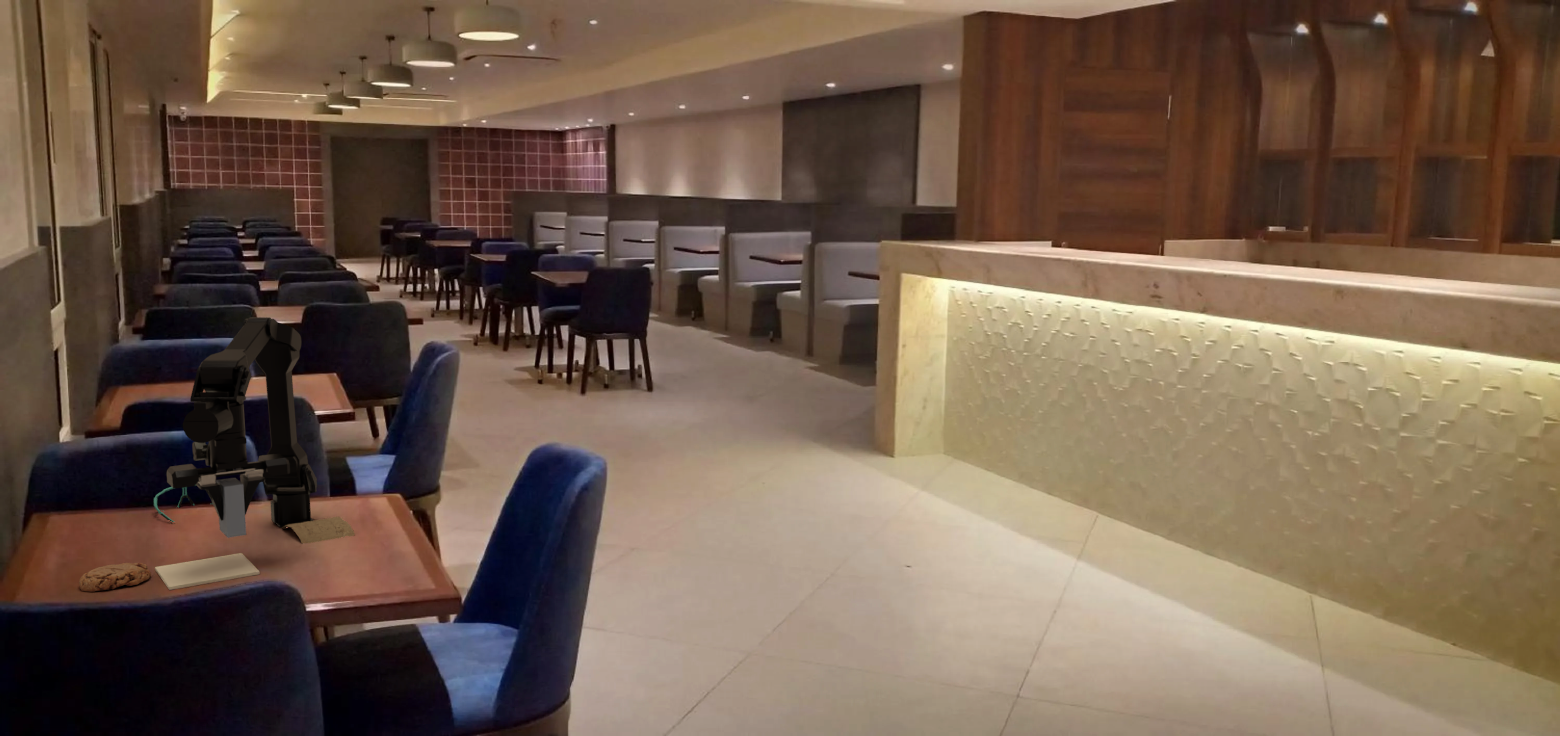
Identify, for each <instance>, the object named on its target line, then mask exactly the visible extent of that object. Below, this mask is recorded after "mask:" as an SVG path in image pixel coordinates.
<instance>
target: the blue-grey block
mask: <svg viewBox="0 0 1560 736" xmlns="http://www.w3.org/2000/svg"><path fill="white" fill-rule="evenodd" d="M216 482H217V483H218V484H219V485H220V491H221V498H222V505H223V512H224V515H223V520H222V521H221V520H220V519H219V518H218V524H219V531H220V532H221V534H223V535H224V536H225V537H226V538H228V539H230V538H234V537H240V536H246V535H247V526H246V523H247V522H246V515H245V506H244V489H243V484H242V483H241V480H238V478H236V477H230V478H222V479H216Z"/></svg>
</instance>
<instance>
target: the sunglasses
mask: <svg viewBox="0 0 1560 736" xmlns="http://www.w3.org/2000/svg"><path fill="white" fill-rule="evenodd" d="M196 486H197V485H195V486H194V487H196ZM173 489H176V488H172V486H170V487H167V488H165V489H163V490H162V491H160V492H158V493H157V494H155V497H153V506H154V509H155V510H157V511H158V513H157V514H159V515H161V517H163V518H164V519H165V520H166V521H168V520H170V521H172V522H175V520H173V519H171V517H169V516H168V515H167V514H165V513H164V511H163V512H161V511H162V510H161V509H159V507H158V498H159V496H160V495H163V494H164V493H166V492H168V491H170V490H173ZM181 489H182V495H181V496H180V500H179V502H178V505H177V507H178V508H180V507H181V505H182V503H183V500H184V499H186V498H187V499H188V501H189V503H190V504H191V505H192V506H195V503H194V501H193V499H192V498H191V497H190V496H189V495H188V492H187V491H188V490H187V489H188V487H184V488H181ZM211 505H213V503H212V502H211ZM177 507H176V508H177ZM157 511H156V512H157ZM170 521H169V522H170Z"/></svg>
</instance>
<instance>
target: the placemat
mask: <svg viewBox="0 0 1560 736" xmlns="http://www.w3.org/2000/svg"><path fill="white" fill-rule="evenodd" d="M154 570H155V572H156V574H158V576H159V578H160V579H161V580H162V582H163V583H164V585H165V586H166V588H167V589H168V590H169V591H171V590H177V589H182V588H183V589H184V588H188V587H193V586H194V587H195V586H199V585H205V584H211V583H217V582H222V581H229V580H233V579H234V580H235V579H239V578H240V579H241V578H246V577H251V576H257V575H260V574H261V573H260V570H259V569H257V568H256V566H255V565H254V564H253V563H252V562H251V561H250V560H249V559H248V558H247V557H246V556H245V555H244V554H243V553H242V552H239V553H233V554H228V555H221V556H215V557H208V558H203V559H197V560H196V559H195V560H191V561H186V562H185V561H184V562H177V563H172V564H164V565H160V566H159V565H158V566H155V567H154Z"/></svg>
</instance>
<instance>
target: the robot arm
mask: <svg viewBox="0 0 1560 736" xmlns="http://www.w3.org/2000/svg"><path fill="white" fill-rule="evenodd" d="M301 348H302V337H301V334H300V333H299V332H298V331H297V330H295V328H294V327H292V326H289V325H288V324H284V323H282V322H278V321H277V320H276V319H275V318H271V317H267V316H266V317H264V316H263V317H261V316H259V317H255V316H254V317H253V316H251V317H248V318H245V319H244V321H243V324H242V327H241V328H240V330H239V331H238V333H237V334H236V335H235V336H234V337H233V339H232V340H231V341H230V342H229V344H228V345H227V346H226V347H225V348H224V349H223V350H222V351H220V352H219V351H218V352H216V353H212V354H210V355H209V356H207V357H206V358H204V360H203V361H202V362H201V363H200V364H199V366H198V368H197V370H196V374H195V379H194V382H193V386H192V390H191V395H190V399H189V400H190V403H193V410H190V411H189V412H188V413H187V414H186V415H185V417H184V419H183V422H182V429H183V433H184V434H185V436H186V437H187V438H188V439H189V440H190V441H192V455H193V461H196V462H197V461H204V460H205V465H206V466H208V467H200V468H199V467H198V468H197V467H196V466H195V465H194V464H192V463H187V464H180V465H173V466H169V467H168V468H167V470H166V482H167V484H168V485H170V487H172V488H173V489H174V488H175V489H182V488H184V487H187V488H190V487H196V486H197V487H198V489H199V490H201V491H202V490H203V491H206V494H207V495H208V497H209V498H210V500H211V504H212V503H213V504H212V505H213V507H214V509H215V512H216V514H217V517H218V520H219V519H220V520H221V521H222V520H223V515H224V512H223V505H222V498H221V491H220V485H219V484H218V483H217V478H221V477H227V476H237V475H239V478H240V480H239V481H240V482H241V483H242V484H243V489H244V506H245V516H246V515H247V512H248V509H249V507H250V504H251V501H252V499H253V496H254V495H255V493H256V490H257V488H258V486H259V485H260V483H262V484H263V485H262V486H263V489H264V493H265V495H266V496H269V495H272V500H270V503H269V504H270V517H271V518H270V519H271V521H272V522H273V523H274V524H275V523H276V524H277V525H276V524H275V525H276V526H278V527H279V528H282V527H283V526H285V525H288V524H295V523H303V522H308V521H314V519H313V518H312V515H311V497H310V495H311V494H314V493H316V492H317V487H318V479H317V476H316V475H315V473H314V471H313V470H312V467H311V465H310V464H309V460H308V455H307V452H306V451H305V450H304V448H303V447H302V446H301V445H300V444H299V442H298V436H297V424H296V423H297V422H296V421H297V420H296V409H295V397H294V395H295V394H294V384H293V369H294V367H295V365H296V363H297V362H298V361H299V359H300V355H301V354H300V351H301ZM254 361H255V362H256V364H257V365H258V367H259V368H260V369H261V371H262V372H263V373H264V374H265V375H264V376H265V384H266V385H265V386H266V396H267V407H268V409H267V410H268V422H269V434H270V448H269V450H268V451H267V453H266V454H262V455H259V456H258V460H257V461H256V460H255V461H249V462H248V456H247V437H246V424H245V421H246V420H245V405H244V401H246V399H247V397H246V394H247V392H248V387H249V385H250V382H251V379H252V373H251V371H250V370H251V369H250V367H251V365H252V364H253V362H254ZM206 443H207V444H206ZM195 485H196V486H195ZM184 489H185V488H184Z"/></svg>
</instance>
